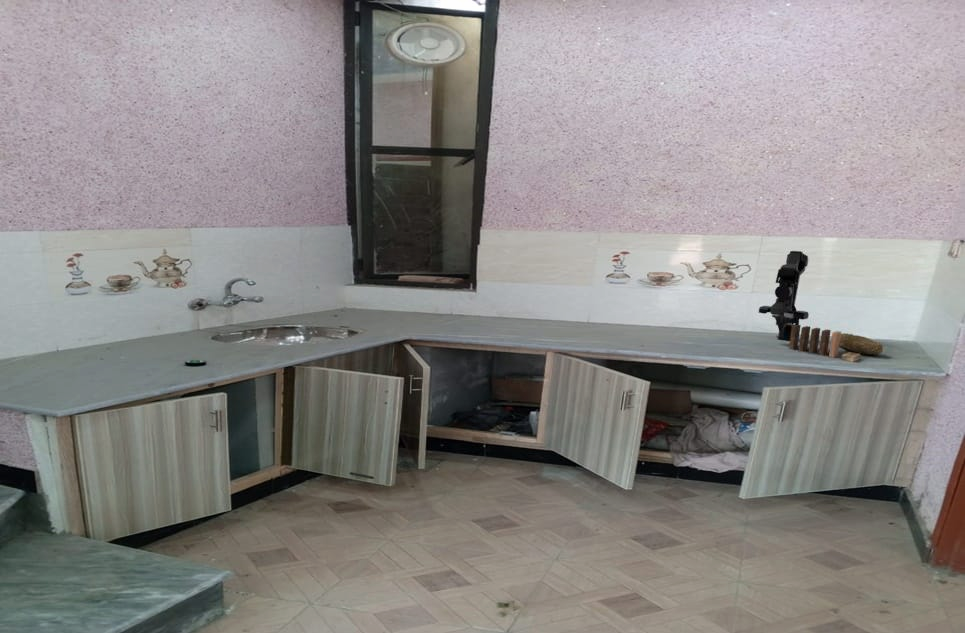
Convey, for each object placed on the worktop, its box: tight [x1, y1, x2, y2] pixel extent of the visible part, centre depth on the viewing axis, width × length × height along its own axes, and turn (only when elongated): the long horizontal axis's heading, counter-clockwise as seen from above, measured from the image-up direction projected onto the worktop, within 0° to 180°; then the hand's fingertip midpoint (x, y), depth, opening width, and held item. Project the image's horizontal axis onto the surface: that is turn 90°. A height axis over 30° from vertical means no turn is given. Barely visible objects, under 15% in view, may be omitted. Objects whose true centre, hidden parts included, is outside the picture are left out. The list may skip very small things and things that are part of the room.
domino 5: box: [828, 330, 842, 358], centre depth 238 cm, size 2×5×10 cm, turn 131°
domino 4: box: [818, 328, 832, 356], centre depth 241 cm, size 2×5×10 cm, turn 131°
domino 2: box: [798, 325, 811, 352], centre depth 247 cm, size 2×5×10 cm, turn 131°
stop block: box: [841, 351, 861, 363], centre depth 235 cm, size 4×8×2 cm, turn 131°
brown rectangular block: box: [788, 324, 802, 350], centre depth 250 cm, size 2×5×10 cm, turn 131°
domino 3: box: [808, 327, 821, 354], centre depth 244 cm, size 2×5×10 cm, turn 131°
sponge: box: [839, 333, 883, 355], centre depth 248 cm, size 13×8×20 cm
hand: (780, 331), depth 254 cm, fingers closed
